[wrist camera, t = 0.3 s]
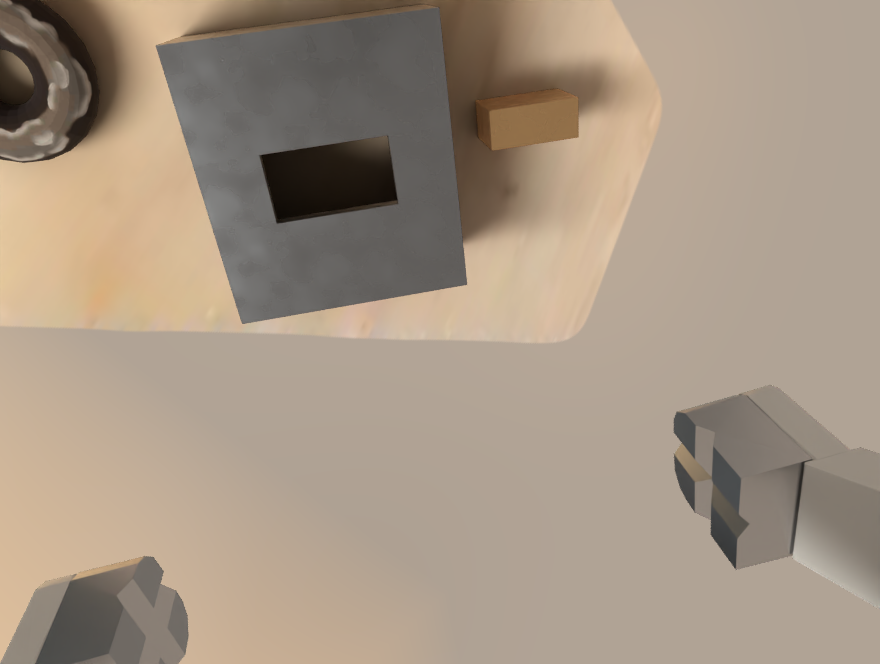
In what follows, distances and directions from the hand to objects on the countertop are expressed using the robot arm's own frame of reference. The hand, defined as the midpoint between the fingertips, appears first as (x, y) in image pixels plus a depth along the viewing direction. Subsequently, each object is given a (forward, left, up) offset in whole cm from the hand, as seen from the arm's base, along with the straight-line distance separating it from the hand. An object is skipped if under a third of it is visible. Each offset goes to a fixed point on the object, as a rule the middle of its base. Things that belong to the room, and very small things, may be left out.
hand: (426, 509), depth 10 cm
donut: (-4, -23, -46) cm, 52 cm away
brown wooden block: (+4, +14, -46) cm, 48 cm away
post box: (+5, -2, -46) cm, 46 cm away
